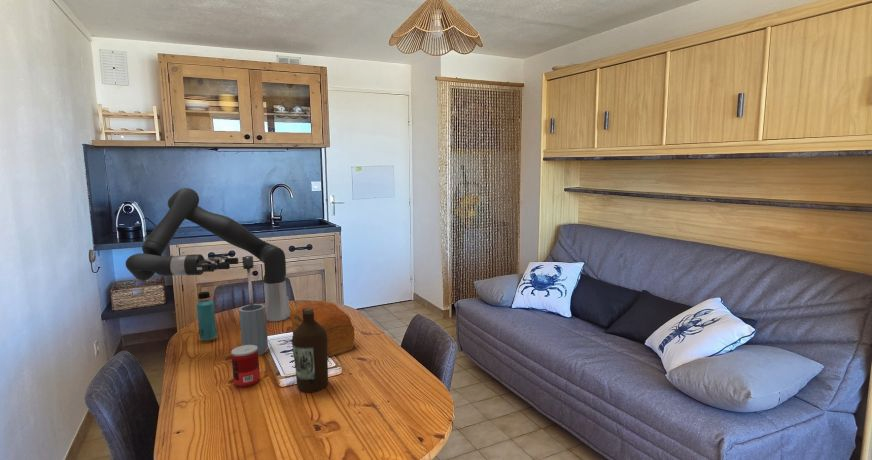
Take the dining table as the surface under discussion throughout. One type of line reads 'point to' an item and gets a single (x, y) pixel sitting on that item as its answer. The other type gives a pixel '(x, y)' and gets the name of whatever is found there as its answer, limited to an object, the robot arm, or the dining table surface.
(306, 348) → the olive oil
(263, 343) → the grey utensil holder
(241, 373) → the canned food
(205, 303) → the beverage bottle
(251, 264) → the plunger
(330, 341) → the bread
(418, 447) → the dining table surface
